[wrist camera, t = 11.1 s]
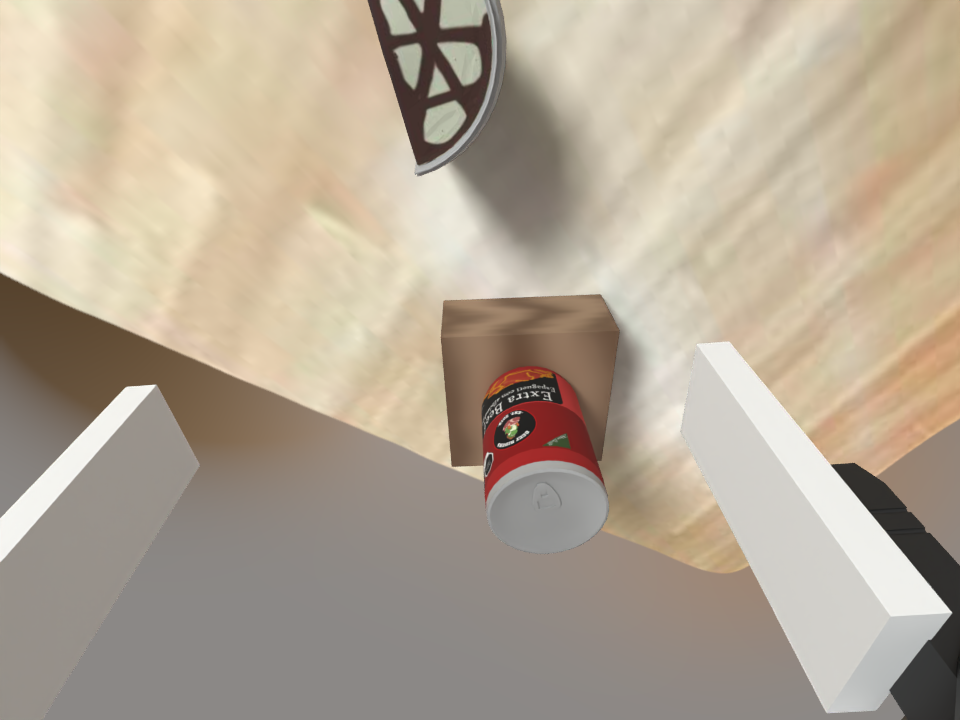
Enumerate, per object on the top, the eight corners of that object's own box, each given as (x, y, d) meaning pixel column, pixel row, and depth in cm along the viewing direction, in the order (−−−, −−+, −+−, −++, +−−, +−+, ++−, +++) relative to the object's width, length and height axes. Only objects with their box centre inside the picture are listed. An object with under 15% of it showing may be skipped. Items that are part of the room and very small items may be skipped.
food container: (515, 124, 35) (531, 154, 26) (428, 148, 35) (418, 184, 27) (470, -112, 28) (473, -173, 20) (364, -78, 29) (323, -122, 20)
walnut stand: (600, 294, 42) (619, 330, 37) (587, 416, 49) (601, 460, 44) (443, 300, 42) (440, 337, 37) (453, 421, 49) (451, 466, 44)
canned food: (550, 346, 37) (578, 449, 28) (592, 417, 41) (630, 529, 32) (461, 389, 39) (461, 500, 30) (510, 454, 43) (523, 569, 34)
